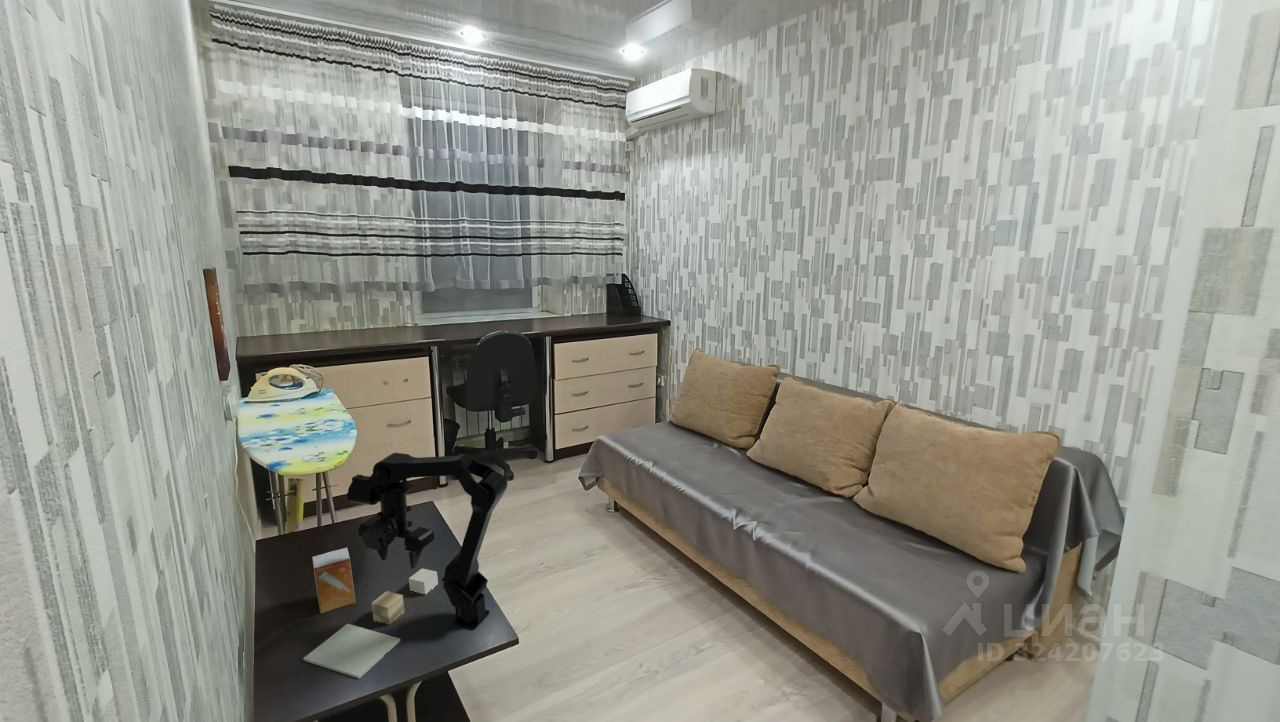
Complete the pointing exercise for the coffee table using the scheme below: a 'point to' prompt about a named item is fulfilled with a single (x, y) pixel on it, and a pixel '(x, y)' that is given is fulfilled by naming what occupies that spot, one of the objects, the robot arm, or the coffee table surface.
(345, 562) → the small box
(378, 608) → the tan wooden cube
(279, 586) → the coffee table surface
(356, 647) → the mat
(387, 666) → the coffee table surface
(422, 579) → the plastic block
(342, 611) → the coffee table surface
